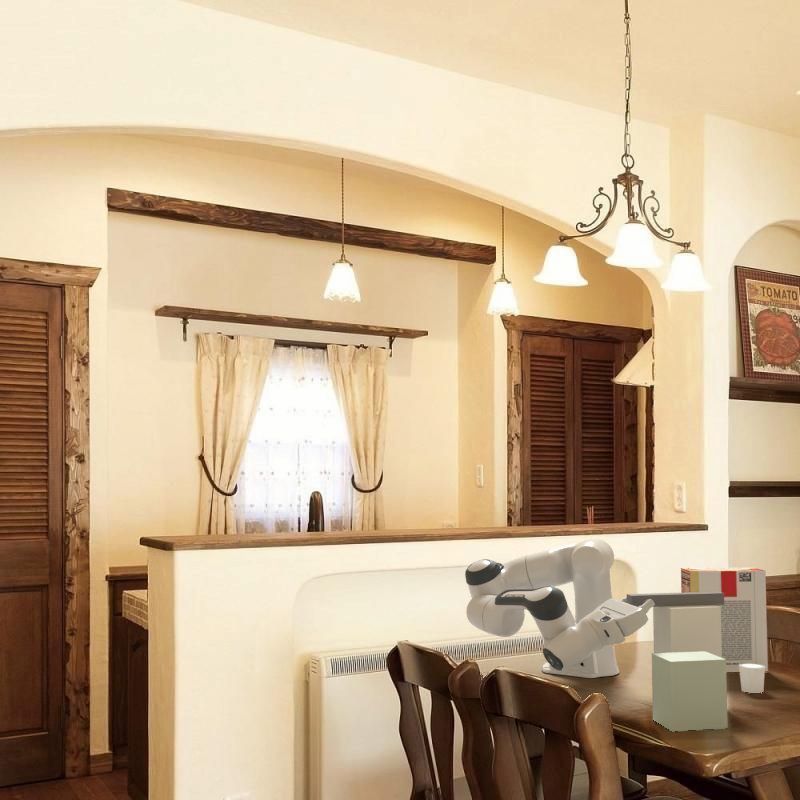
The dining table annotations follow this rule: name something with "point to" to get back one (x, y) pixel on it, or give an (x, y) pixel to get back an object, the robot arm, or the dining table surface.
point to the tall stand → (687, 629)
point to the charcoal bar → (677, 599)
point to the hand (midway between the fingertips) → (644, 598)
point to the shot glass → (752, 677)
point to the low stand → (689, 690)
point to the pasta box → (736, 610)
